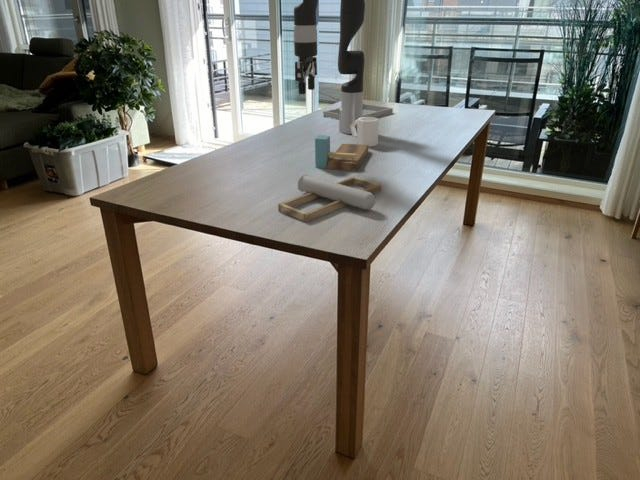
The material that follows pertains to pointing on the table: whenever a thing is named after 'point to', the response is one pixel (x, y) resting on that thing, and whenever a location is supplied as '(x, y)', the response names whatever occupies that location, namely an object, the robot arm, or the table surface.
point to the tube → (336, 192)
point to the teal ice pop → (326, 151)
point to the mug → (366, 131)
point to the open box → (348, 162)
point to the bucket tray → (379, 109)
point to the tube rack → (287, 205)
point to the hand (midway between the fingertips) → (306, 91)
